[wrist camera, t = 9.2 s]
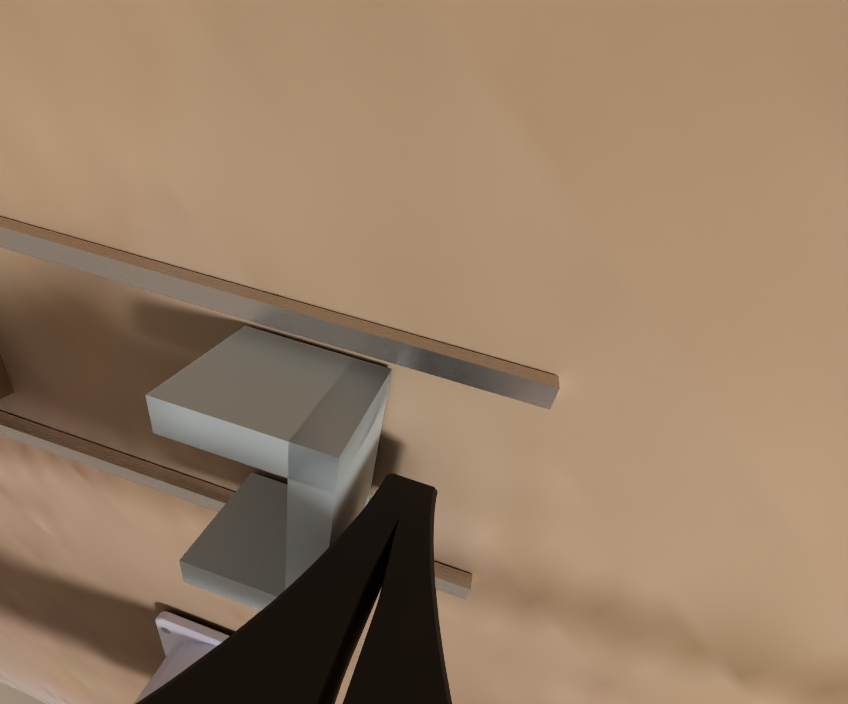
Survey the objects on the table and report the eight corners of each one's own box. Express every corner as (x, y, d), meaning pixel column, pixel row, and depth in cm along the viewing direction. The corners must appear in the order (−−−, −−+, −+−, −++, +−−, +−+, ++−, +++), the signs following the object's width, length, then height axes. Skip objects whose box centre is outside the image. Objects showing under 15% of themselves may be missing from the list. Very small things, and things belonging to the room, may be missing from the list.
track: (468, 584, 14) (465, 599, 13) (-217, 345, 17) (-236, 351, 17) (558, 376, 9) (559, 388, 9) (-390, 105, 13) (-423, 104, 12)
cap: (363, 531, 14) (319, 633, 11) (252, 492, 14) (183, 581, 11) (391, 368, 10) (338, 458, 8) (244, 325, 11) (145, 395, 8)
